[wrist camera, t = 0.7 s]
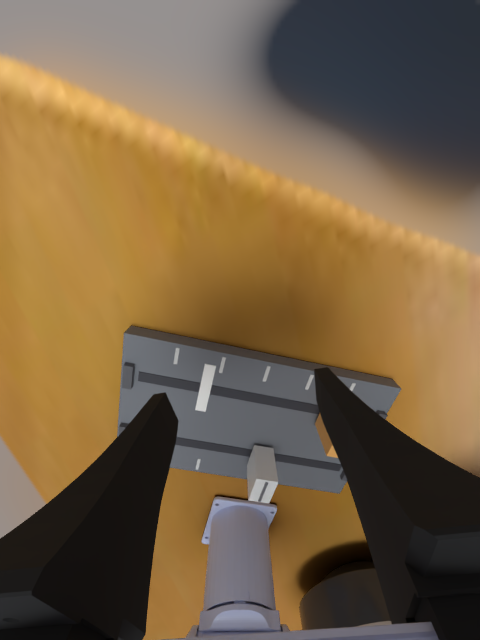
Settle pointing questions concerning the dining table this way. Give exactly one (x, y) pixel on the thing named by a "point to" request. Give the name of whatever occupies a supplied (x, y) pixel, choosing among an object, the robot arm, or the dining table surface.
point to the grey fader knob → (261, 474)
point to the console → (239, 405)
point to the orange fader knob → (325, 438)
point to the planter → (345, 599)
